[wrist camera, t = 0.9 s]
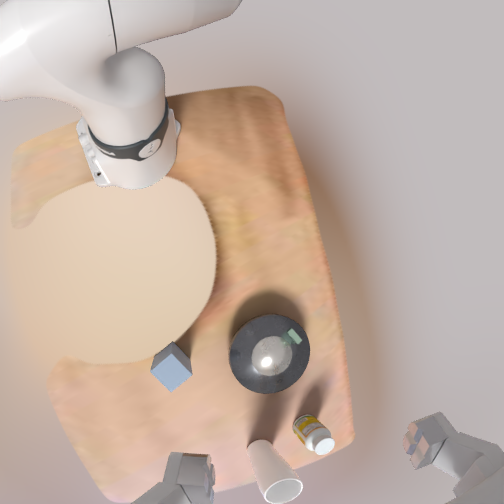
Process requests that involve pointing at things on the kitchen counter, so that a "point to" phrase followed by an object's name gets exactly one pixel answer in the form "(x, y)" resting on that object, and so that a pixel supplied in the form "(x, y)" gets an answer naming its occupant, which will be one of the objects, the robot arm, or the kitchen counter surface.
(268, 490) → the drinking glass
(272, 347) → the stand
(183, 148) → the kitchen counter surface
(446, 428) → the robot arm
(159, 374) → the block
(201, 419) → the kitchen counter surface
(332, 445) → the supplement bottle
